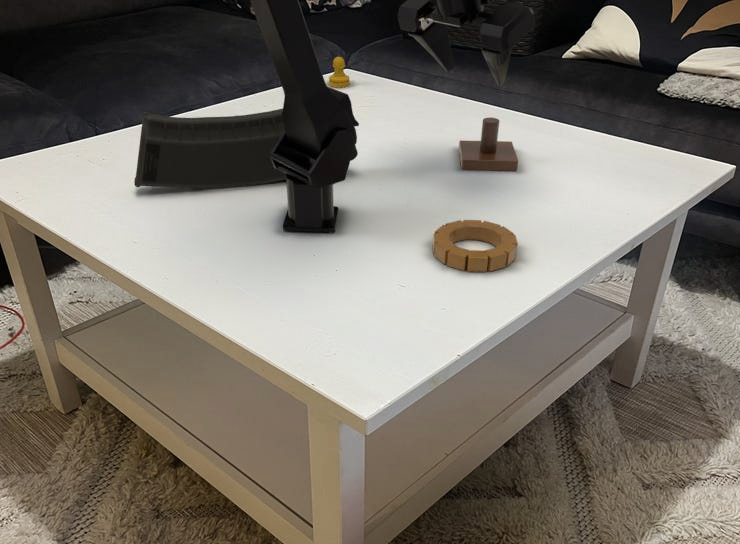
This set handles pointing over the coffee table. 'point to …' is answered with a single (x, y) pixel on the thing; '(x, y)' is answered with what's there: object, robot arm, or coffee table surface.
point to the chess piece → (339, 74)
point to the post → (488, 150)
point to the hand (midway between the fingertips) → (475, 76)
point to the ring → (473, 258)
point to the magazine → (209, 151)
